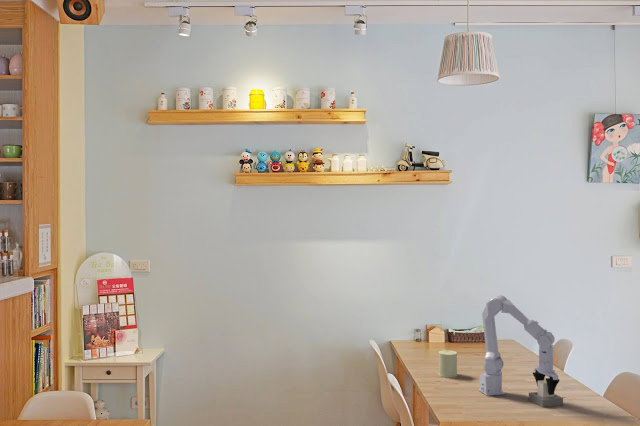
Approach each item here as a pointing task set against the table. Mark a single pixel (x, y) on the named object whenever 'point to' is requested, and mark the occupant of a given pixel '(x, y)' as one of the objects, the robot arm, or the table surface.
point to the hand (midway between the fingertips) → (545, 391)
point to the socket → (545, 400)
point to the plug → (543, 389)
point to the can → (447, 363)
